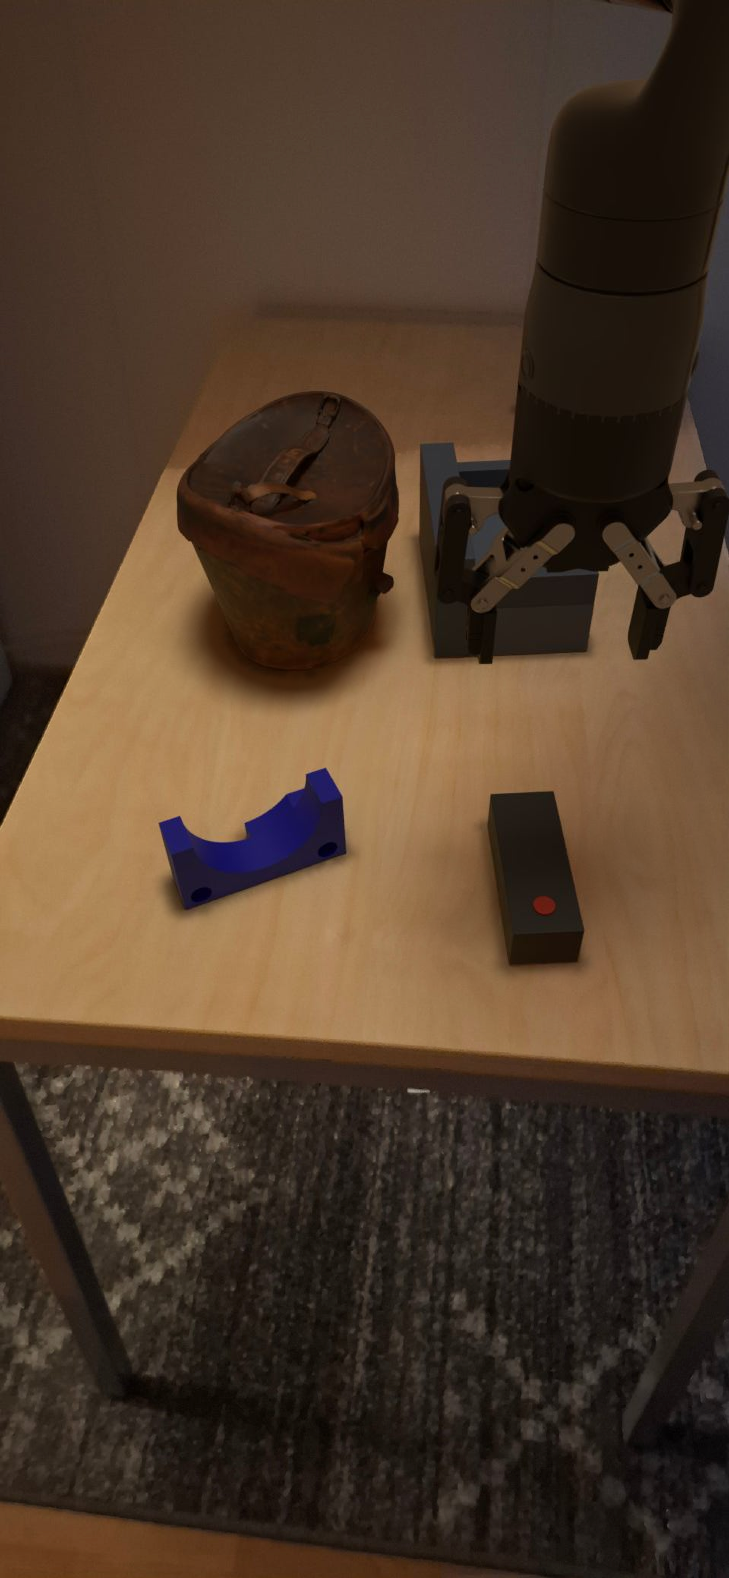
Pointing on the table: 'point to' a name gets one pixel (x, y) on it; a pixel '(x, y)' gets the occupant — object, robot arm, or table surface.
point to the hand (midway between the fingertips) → (559, 652)
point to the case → (295, 526)
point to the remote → (534, 879)
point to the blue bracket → (259, 844)
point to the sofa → (526, 617)
